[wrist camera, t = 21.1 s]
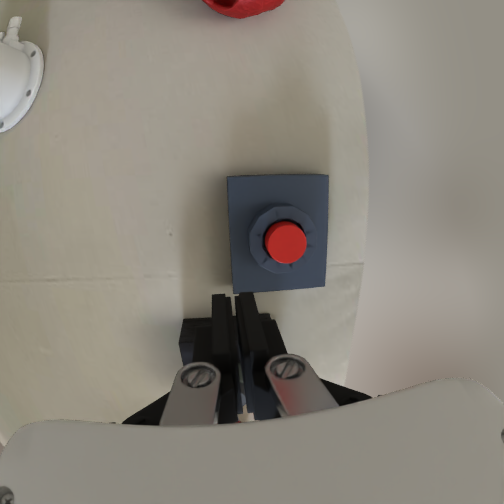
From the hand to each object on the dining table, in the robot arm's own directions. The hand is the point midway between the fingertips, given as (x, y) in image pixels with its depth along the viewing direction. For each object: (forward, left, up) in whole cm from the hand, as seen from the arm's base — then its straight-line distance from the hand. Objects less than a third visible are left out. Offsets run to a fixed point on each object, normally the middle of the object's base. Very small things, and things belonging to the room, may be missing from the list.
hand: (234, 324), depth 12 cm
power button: (+1, +5, -16) cm, 17 cm away
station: (+1, +5, -19) cm, 20 cm away
